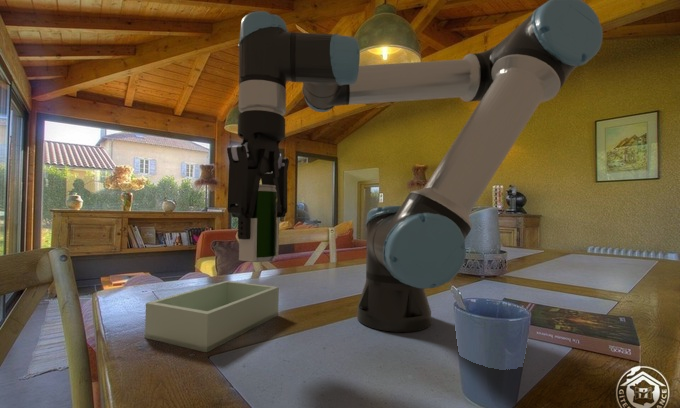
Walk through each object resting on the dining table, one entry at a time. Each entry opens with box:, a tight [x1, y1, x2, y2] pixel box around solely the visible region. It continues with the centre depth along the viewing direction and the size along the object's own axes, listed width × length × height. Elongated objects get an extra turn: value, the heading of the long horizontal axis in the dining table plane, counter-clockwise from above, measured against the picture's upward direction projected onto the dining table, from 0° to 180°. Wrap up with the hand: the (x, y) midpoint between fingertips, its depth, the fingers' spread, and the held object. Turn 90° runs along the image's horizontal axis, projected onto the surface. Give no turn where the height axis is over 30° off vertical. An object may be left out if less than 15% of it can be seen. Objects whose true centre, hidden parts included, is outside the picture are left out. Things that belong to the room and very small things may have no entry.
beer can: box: [246, 183, 277, 263], centre depth 53 cm, size 5×5×12 cm
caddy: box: [144, 280, 280, 353], centre depth 63 cm, size 14×20×6 cm
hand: (259, 257), depth 53 cm, fingers closed on beer can, 5 cm apart
